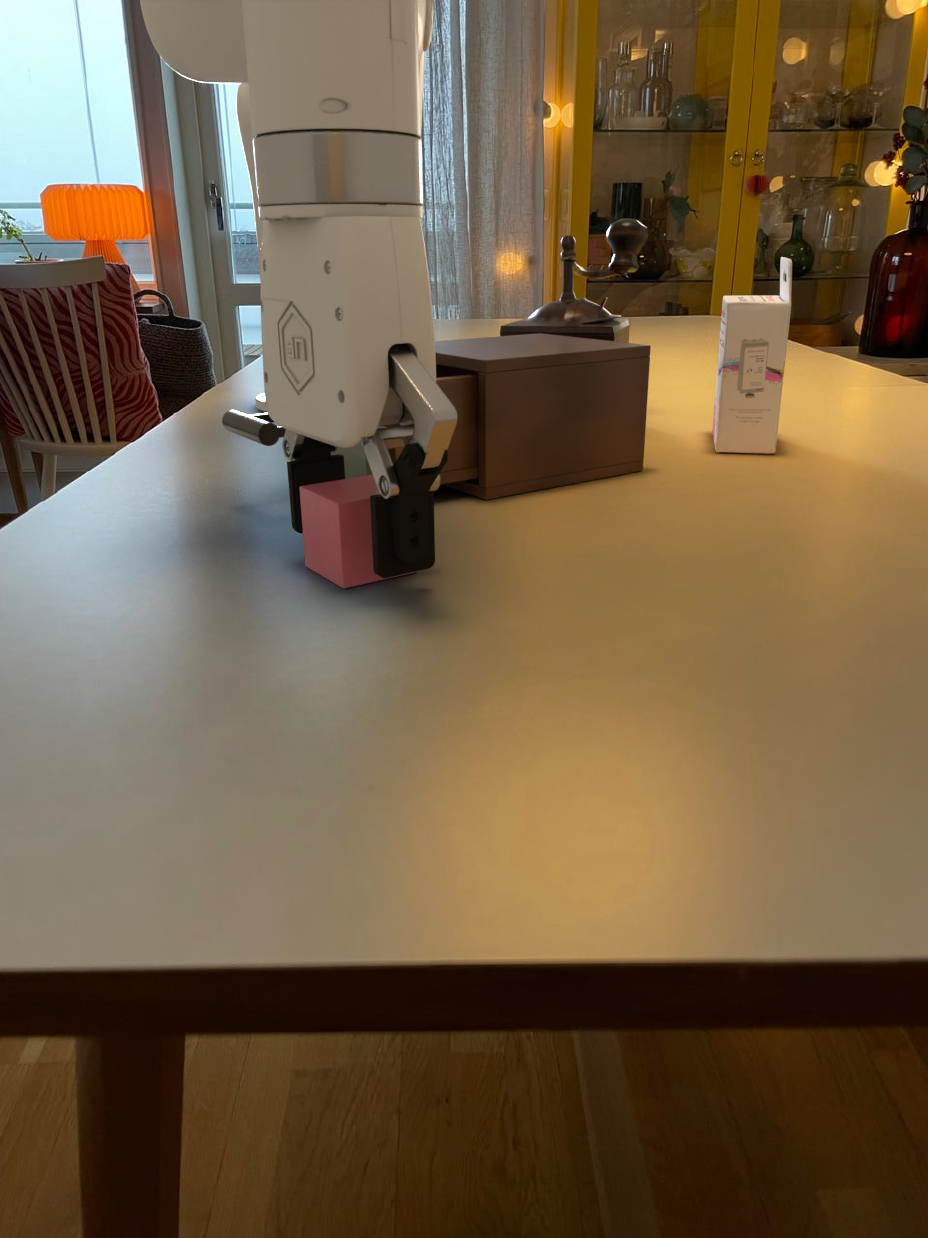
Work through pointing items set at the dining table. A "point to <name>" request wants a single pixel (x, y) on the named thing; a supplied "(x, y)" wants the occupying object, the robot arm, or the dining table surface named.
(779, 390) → the ink cartridge box
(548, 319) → the manual coffee grinder
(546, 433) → the cabinet
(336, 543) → the block
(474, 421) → the drawer
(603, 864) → the dining table surface
